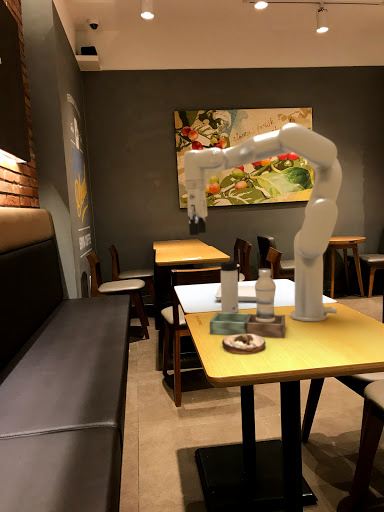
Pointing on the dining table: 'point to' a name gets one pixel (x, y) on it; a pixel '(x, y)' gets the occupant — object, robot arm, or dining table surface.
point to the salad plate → (242, 294)
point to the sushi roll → (243, 343)
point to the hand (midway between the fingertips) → (198, 233)
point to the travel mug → (229, 287)
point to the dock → (246, 325)
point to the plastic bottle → (265, 297)
